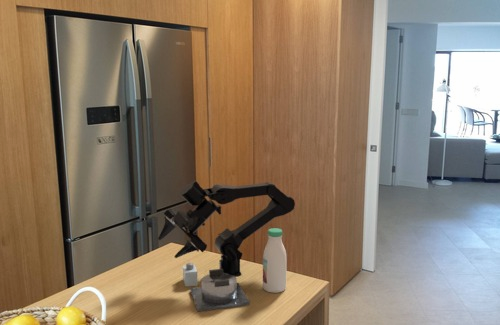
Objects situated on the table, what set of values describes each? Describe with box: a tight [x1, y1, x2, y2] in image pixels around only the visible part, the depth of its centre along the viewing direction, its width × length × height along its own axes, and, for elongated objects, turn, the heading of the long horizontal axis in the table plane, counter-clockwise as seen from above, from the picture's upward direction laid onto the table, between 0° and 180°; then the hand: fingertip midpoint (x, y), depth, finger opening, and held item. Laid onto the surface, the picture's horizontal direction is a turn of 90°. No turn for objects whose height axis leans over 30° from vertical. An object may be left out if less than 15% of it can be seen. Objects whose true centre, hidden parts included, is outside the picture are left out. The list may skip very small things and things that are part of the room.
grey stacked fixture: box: [190, 268, 251, 313], centre depth 144 cm, size 16×14×8 cm
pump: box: [182, 262, 199, 287], centre depth 156 cm, size 4×6×6 cm, turn 16°
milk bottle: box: [262, 227, 288, 294], centre depth 150 cm, size 8×8×20 cm
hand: (166, 248), depth 153 cm, fingers open, 9 cm apart
